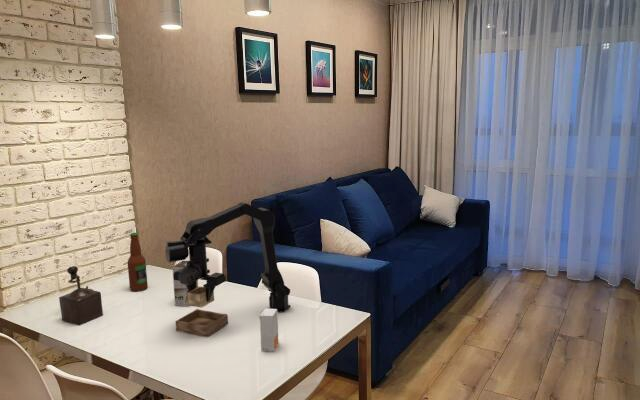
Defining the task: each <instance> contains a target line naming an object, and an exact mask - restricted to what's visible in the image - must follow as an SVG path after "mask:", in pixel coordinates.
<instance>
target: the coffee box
mask: <svg viewBox="0 0 640 400" xmlns="http://www.w3.org/2000/svg"><path fill="white" fill-rule="evenodd" d="M187 261H188V260H180V261H179V262H178V263H177V264H174V265H173V266H172V275H173V274H174V272H175V271H177V270H180V269H182V268H186V267H187ZM172 278H173V277H172ZM172 280H173V296H174V306H178V307H179V306H180V307H190V306H189V305H188V302H187V293H188V292H189V291H188V289H187V287H186V285H184V284H181V283H180V281H178V280H174V278H173V279H172ZM197 287H199V279H198V280H197V281H196V288H197Z"/></svg>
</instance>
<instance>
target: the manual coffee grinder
mask: <svg viewBox="0 0 640 400" xmlns="http://www.w3.org/2000/svg"><path fill="white" fill-rule="evenodd" d="M78 270H79V268H78V267H77V266H76V265H72V266H70V267H68V268H67V270H66V272H67V274H69V275H70V279H69V280H68V284H74V283H75V284H77V288H76V289H74V290H72V291H71V292H69V293H66V294H64V295H61V296H59V297H58V300H59V307H60V314H61V320H62V321H63V322H64V323H69V324H72V325H73V324H74V325H77V326H82V325H84V324H87V323H89V322H91V321H93V320H95V319H98V318H101V317H102V316H104V311H103V304H102V303H103V301H102V293H101V291H99V290H95V289H93V288H89V286H88V285H86V287H81V279H80V275H78V272H79V271H78Z"/></svg>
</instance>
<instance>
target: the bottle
mask: <svg viewBox="0 0 640 400" xmlns="http://www.w3.org/2000/svg"><path fill="white" fill-rule="evenodd" d="M129 236H130V237H129V238H130V245H129V246H130V247H129V252H130V253H129V254H130V255H129V258H128V260H127V271H128V282H129V283H128V284H129V290H130V291H132V292H137V293H138V292H143V291H145V290H147V288H148V286H149V285H148V276H147V274H148V273H147V264H146V263H147V262H146V259H145V257H144V255H143V254H142V248H141V245H140V244H141V243H140V240H139V233H138V232H131V233H130V234H129Z"/></svg>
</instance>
